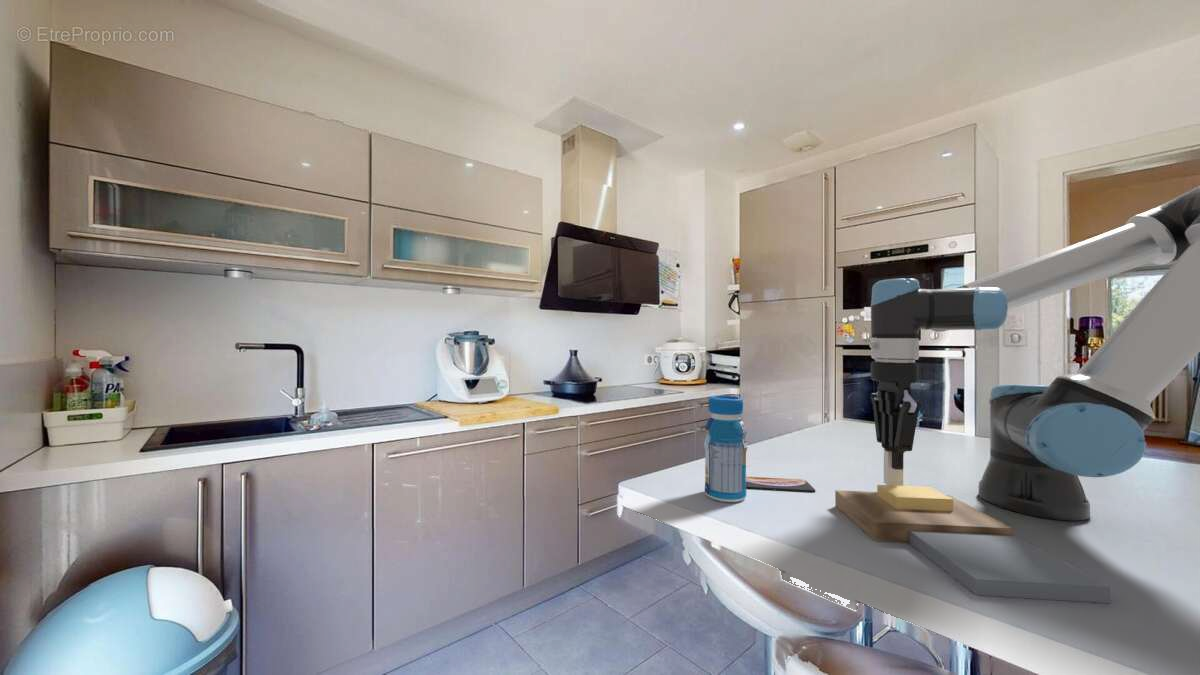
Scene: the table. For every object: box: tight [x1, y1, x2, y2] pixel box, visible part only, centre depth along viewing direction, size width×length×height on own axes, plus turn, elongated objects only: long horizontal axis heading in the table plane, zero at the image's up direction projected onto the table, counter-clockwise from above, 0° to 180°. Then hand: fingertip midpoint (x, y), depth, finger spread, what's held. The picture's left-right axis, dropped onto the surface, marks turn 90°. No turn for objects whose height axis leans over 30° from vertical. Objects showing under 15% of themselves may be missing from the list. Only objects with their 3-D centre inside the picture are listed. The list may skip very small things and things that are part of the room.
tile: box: [876, 484, 953, 511], centre depth 75 cm, size 9×6×2 cm, turn 84°
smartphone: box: [746, 476, 816, 494], centre depth 93 cm, size 8×1×15 cm
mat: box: [909, 531, 1111, 604], centre depth 59 cm, size 15×13×2 cm
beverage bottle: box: [703, 395, 748, 503], centre depth 86 cm, size 8×8×20 cm
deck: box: [834, 489, 1014, 544], centre depth 73 cm, size 20×14×3 cm
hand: (893, 484), depth 81 cm, fingers closed
